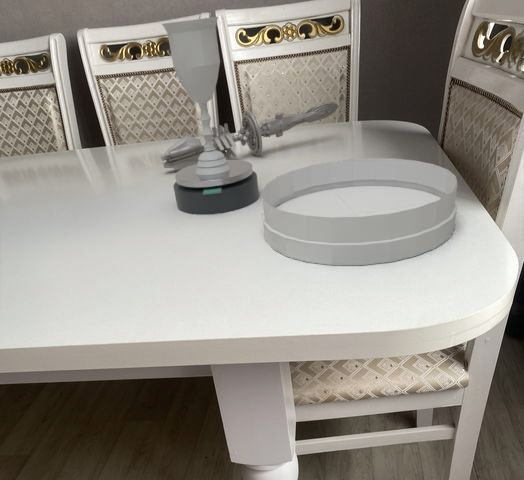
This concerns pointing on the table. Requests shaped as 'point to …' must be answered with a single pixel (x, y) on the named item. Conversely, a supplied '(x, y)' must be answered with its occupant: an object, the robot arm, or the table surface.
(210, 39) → the chalice
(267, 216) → the gray round ring
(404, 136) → the table surface
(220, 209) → the scale
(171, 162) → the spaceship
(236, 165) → the scale pan
